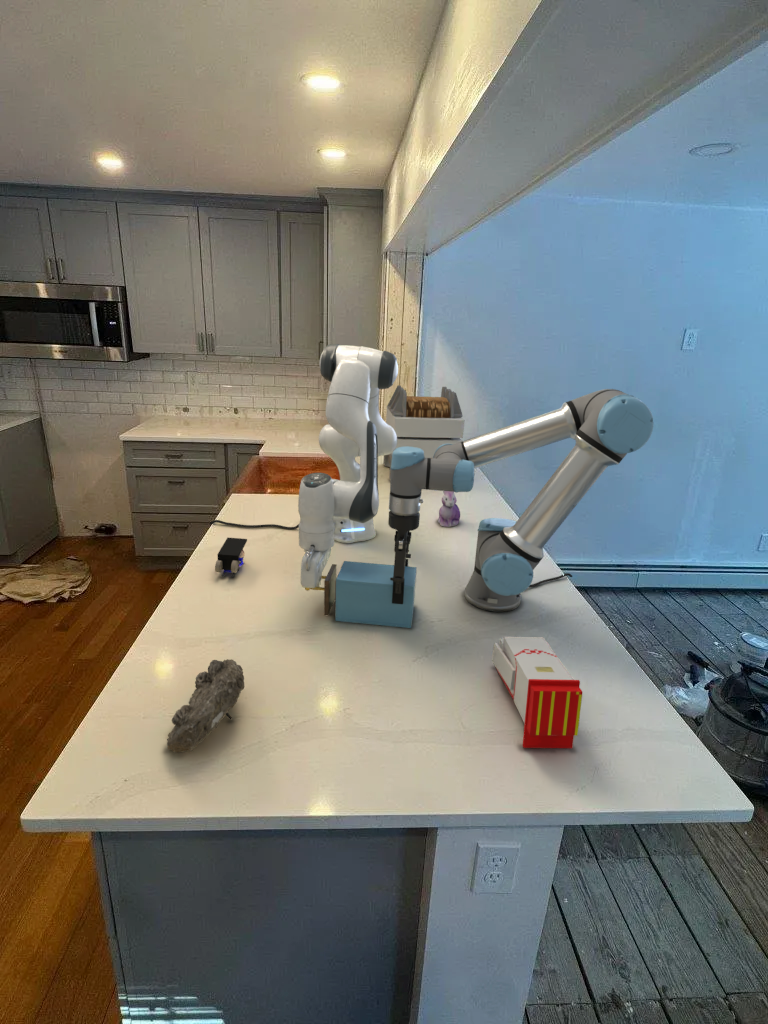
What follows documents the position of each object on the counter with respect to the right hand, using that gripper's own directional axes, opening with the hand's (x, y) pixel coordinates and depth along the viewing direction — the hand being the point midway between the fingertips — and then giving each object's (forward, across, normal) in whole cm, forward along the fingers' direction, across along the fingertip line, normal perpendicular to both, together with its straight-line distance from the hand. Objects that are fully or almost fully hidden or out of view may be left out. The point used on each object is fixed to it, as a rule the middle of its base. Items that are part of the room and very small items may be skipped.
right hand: (399, 592), depth 144 cm
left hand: (+1, 0, +22) cm, 22 cm away
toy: (+7, -29, -29) cm, 42 cm away
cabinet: (+7, 0, +6) cm, 9 cm away
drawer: (+6, 0, +12) cm, 13 cm away
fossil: (+7, -44, +32) cm, 55 cm away
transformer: (+7, +137, +2) cm, 137 cm away
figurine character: (+7, +17, +51) cm, 54 cm away
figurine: (+7, +71, -12) cm, 72 cm away
